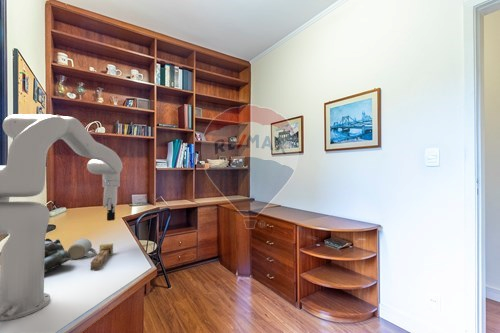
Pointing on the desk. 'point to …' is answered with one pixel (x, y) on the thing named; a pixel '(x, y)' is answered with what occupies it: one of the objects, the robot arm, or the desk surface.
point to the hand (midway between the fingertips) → (110, 220)
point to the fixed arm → (96, 259)
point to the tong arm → (101, 259)
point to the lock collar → (106, 246)
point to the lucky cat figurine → (54, 254)
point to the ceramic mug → (81, 249)
